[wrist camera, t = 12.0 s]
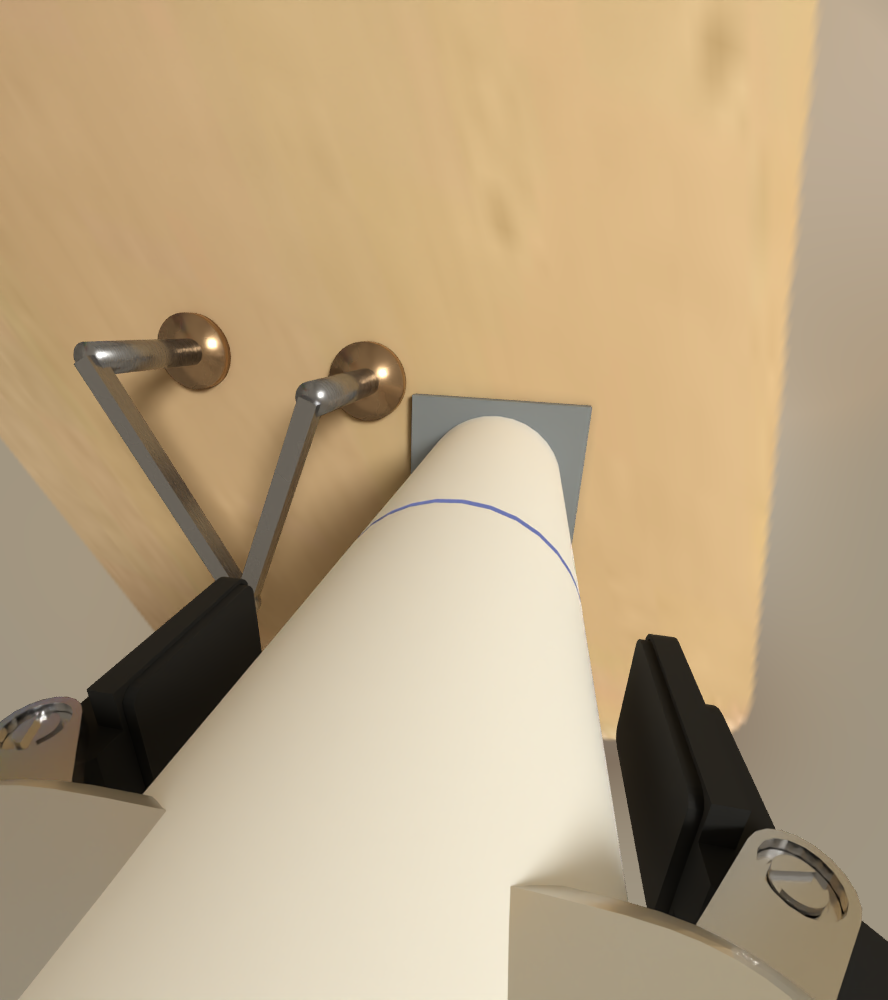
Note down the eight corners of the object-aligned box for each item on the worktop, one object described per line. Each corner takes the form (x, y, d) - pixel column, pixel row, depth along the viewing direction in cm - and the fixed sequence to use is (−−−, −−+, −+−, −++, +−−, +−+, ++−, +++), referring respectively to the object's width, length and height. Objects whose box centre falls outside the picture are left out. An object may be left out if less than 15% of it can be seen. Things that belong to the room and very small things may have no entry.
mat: (415, 393, 25) (412, 395, 25) (590, 405, 24) (592, 407, 23) (412, 547, 28) (409, 551, 28) (567, 566, 27) (567, 571, 26)
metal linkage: (159, 311, 26) (19, 305, 19) (406, 322, 24) (351, 320, 17) (194, 537, 31) (92, 600, 24) (403, 564, 29) (359, 642, 22)
